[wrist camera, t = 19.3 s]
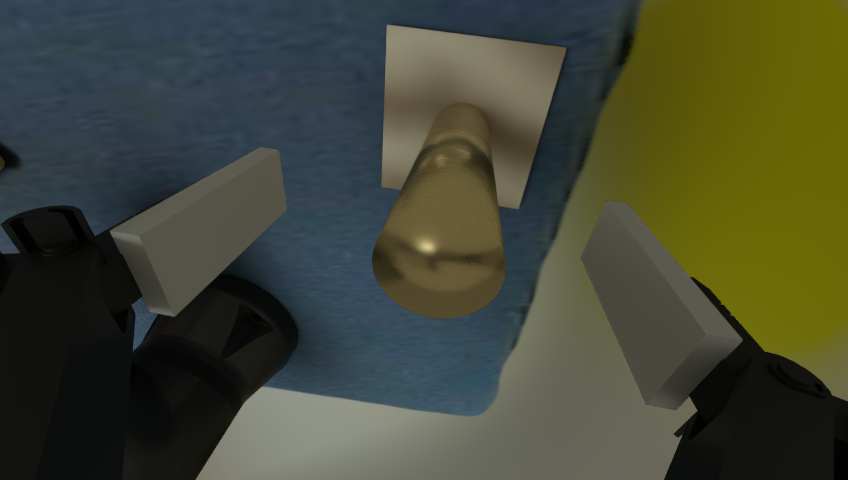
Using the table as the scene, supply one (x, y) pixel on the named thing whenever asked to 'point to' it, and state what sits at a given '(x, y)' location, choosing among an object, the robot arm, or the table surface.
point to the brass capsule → (445, 223)
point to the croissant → (1, 163)
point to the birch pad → (467, 98)
